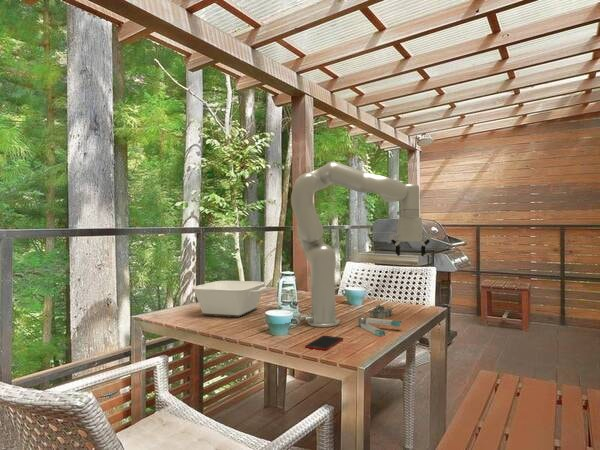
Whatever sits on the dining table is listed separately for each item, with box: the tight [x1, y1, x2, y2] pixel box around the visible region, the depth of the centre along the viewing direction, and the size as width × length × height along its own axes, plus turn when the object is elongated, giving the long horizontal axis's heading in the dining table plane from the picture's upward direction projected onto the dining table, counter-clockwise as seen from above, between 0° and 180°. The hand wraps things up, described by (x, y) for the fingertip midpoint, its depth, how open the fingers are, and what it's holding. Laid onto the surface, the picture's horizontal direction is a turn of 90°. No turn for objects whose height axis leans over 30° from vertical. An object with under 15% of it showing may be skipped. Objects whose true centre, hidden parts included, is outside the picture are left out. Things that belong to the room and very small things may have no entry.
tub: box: [192, 280, 268, 318], centre depth 191 cm, size 34×27×13 cm
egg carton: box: [368, 304, 394, 319], centre depth 179 cm, size 11×8×4 cm
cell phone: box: [304, 335, 344, 352], centre depth 139 cm, size 8×15×1 cm, turn 152°
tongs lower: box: [358, 316, 386, 337], centre depth 155 cm, size 16×3×3 cm, turn 19°
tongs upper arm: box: [366, 317, 403, 328], centre depth 157 cm, size 13×3×2 cm, turn 59°
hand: (410, 255), depth 173 cm, fingers open, 9 cm apart
